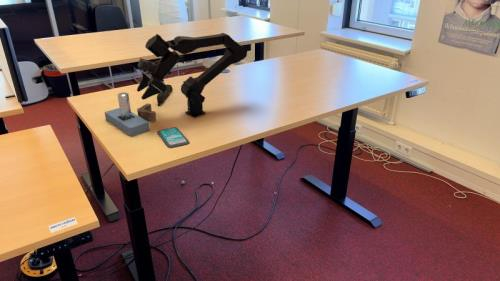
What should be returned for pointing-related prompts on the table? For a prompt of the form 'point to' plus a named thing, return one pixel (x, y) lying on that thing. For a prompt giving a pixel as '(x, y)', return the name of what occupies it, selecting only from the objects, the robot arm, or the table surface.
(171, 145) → the smartphone
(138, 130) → the grey block with hole
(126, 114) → the axle
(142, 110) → the v block
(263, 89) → the table surface
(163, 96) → the hand tool
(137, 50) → the table surface
